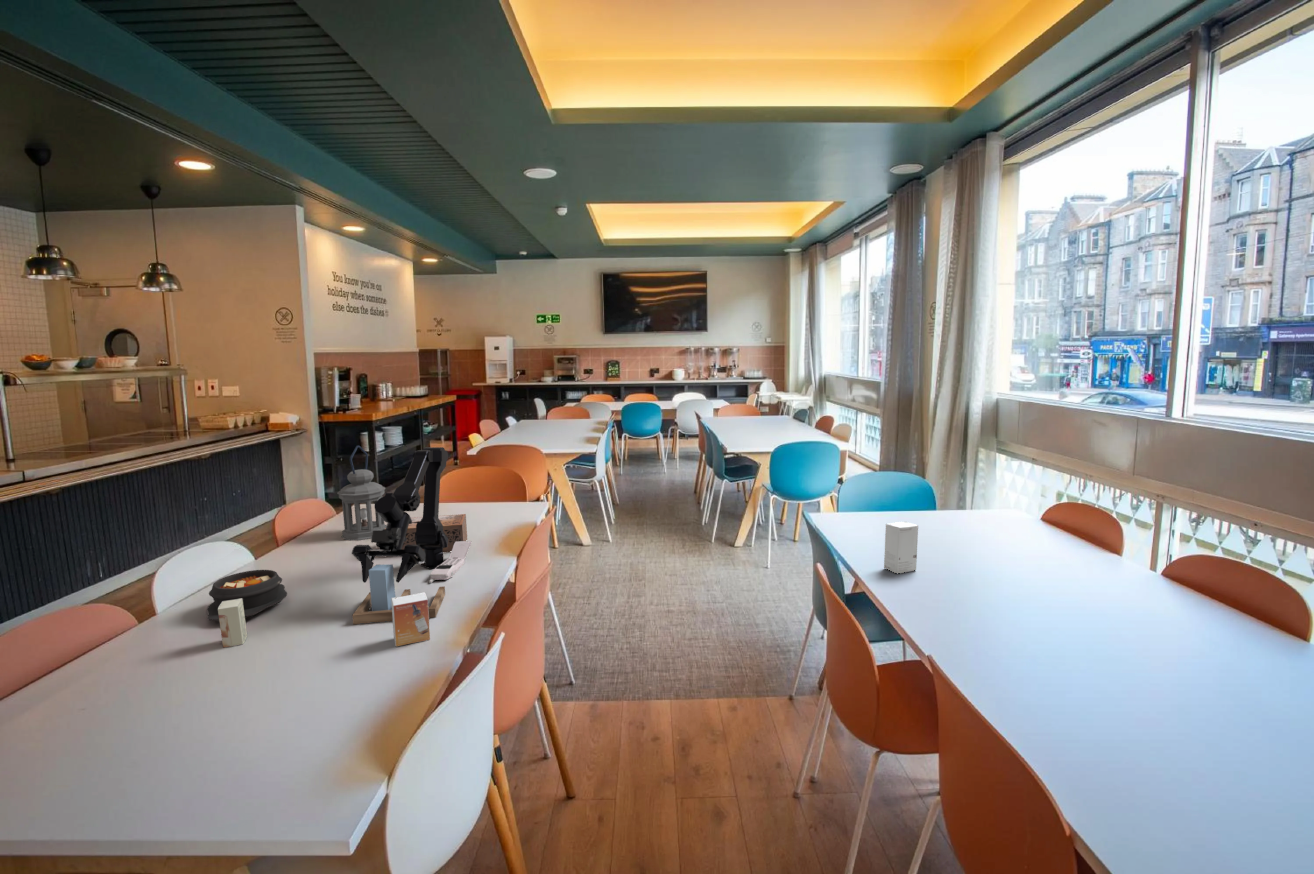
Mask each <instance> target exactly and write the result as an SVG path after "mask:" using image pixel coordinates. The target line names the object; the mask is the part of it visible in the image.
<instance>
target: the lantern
mask: <svg viewBox="0 0 1314 874" xmlns="http://www.w3.org/2000/svg"><path fill="white" fill-rule="evenodd" d="M358 448H359V450H361V451H362V452H363V454H364V455H365V463H364V465H365V467H364V469H355V468H354V467H355V466H354V464H353V458H354V456H355V454H356V452H357V450H358ZM368 463H369V455H368V453H367V452H366V451H365V449H363V447H361V446H360V445H356V446H355V448H354V450H353V452H352V453H351V454H350V456H349V464H350V468H351V471H350V472H349V473H348V474H347V475H346V477H347V480H348V482H349V484H347V485H345V486H343V487H342V488H341V489H340V490H339V491H337V493H336V494H337V495H338V498H339V499H340V500H341V506H342V515H343V527H344V529H343V530H342V534H341V535H340V536H341V538H342V539H344V540H345V541H365V540H371V539H372V531H382V530H383V529H385V528H386V526H387V524H385V521H384V520H383V519H382V518H381V516H380V515H379V514H378V513H377V511H376V510H375V509H374V515H375V520H373V515H372V513H373V512H372V502H374V504H375V503H376V502H377V501H378V500H379V499H380V498H382V497H383V496H384V494H386V491H385V490H386V487H385V486H383V485H382V484H379V483H377V482H376V481H373V479H374V477H375V476H374V472H373V471H371V470H370V469H368ZM363 503H365V507H362V508H361V504H363ZM352 504H353V505H354V517H355V523H354V520H353V510H352V509H353V508H352Z"/></svg>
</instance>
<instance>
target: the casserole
mask: <svg viewBox="0 0 1314 874" xmlns="http://www.w3.org/2000/svg"><path fill="white" fill-rule="evenodd" d="M282 582H283V578H282V577H281V576H279V574H278V572H277V571H275V570H272V569H256V570H254V569H253V570H247V571H242V572H238V573H233V574H230V575H227V576H224V577H222V578H219V579H217V580H216V581H214V582H213V584H212V586H211V589H210V591H209V592H208V595H209V597H211V598H212V599H213V602H211V603H210V604H209V605H208V606H207V608H206V611H207V613H208V615H207V617H206V618H207V620H209V621H215V622H216V621H217V622H218V621H219V614H218V607H219V606H220V604H221V603H222V601H228V600H235V599H241V598H242V600H243V607H244V615H245V618H249V617H252V616H255V615H257V614H259V613H261V612H262V611H264V610H265V609H268V608H270V607H273V606H274V605H277V604H278V603H280V602H282V601H283V600H284V599H286V597H287V596H288V593H287V591H286V590H285V587H286V586H285V584H282Z"/></svg>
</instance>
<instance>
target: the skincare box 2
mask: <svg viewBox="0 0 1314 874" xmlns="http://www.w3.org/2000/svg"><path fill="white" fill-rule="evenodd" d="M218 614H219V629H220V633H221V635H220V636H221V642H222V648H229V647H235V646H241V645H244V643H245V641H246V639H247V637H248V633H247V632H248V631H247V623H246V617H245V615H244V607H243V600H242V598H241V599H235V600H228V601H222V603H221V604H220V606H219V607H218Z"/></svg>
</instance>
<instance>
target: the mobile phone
mask: <svg viewBox="0 0 1314 874" xmlns="http://www.w3.org/2000/svg"><path fill="white" fill-rule="evenodd" d="M471 546H472V541H471V540H467V541H459V542H455V543H454V546H453V549H452V552H450V555H449V558H446V560H444V562H443V563H442V564H441V565H439V566H437V567H436V568H433V569H432V571H431V572H430V576H429V577H430V579H429V581H428V584H431V583H433V582H434V581H436V580H437V581H438V580H439V581H440V580H441V581H442V580H443V581H444V580H445V581H446V580H449V579H450V578H453V576H454V575H455V574H456V573H457V572H458V571H460V569H461V568H463V566H464V565H465V563H466V557H467V555H468V552H469V549H470V547H471Z"/></svg>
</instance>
